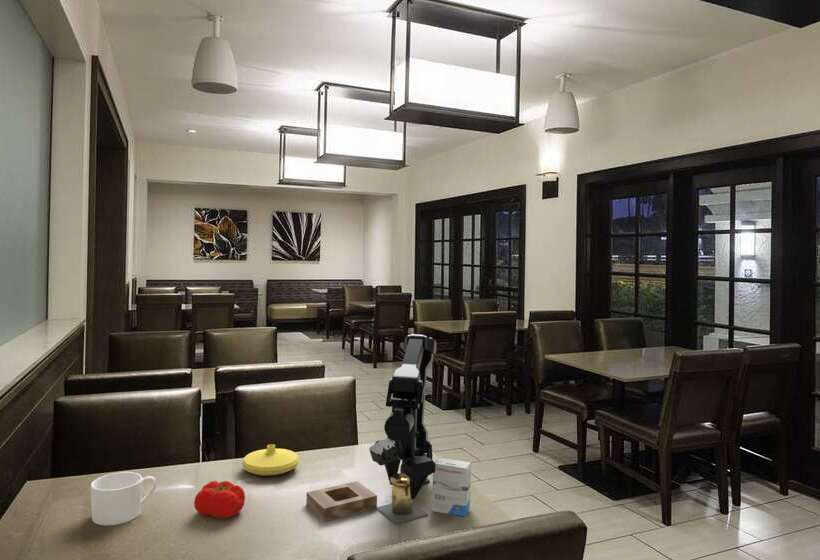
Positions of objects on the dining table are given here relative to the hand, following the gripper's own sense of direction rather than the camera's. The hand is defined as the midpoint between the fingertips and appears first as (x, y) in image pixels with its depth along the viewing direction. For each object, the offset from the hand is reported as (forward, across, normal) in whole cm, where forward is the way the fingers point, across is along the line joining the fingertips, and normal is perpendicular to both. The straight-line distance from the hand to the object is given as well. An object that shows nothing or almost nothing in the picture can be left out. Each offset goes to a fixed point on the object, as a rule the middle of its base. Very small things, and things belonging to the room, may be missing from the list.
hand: (402, 491), depth 134 cm
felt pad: (+5, 0, 0) cm, 5 cm away
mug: (+5, -31, -56) cm, 64 cm away
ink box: (+5, +5, +11) cm, 13 cm away
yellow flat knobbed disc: (+5, -40, -18) cm, 44 cm away
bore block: (+5, -10, -11) cm, 16 cm away
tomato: (+5, -21, -37) cm, 43 cm away
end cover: (+4, 0, 0) cm, 5 cm away
